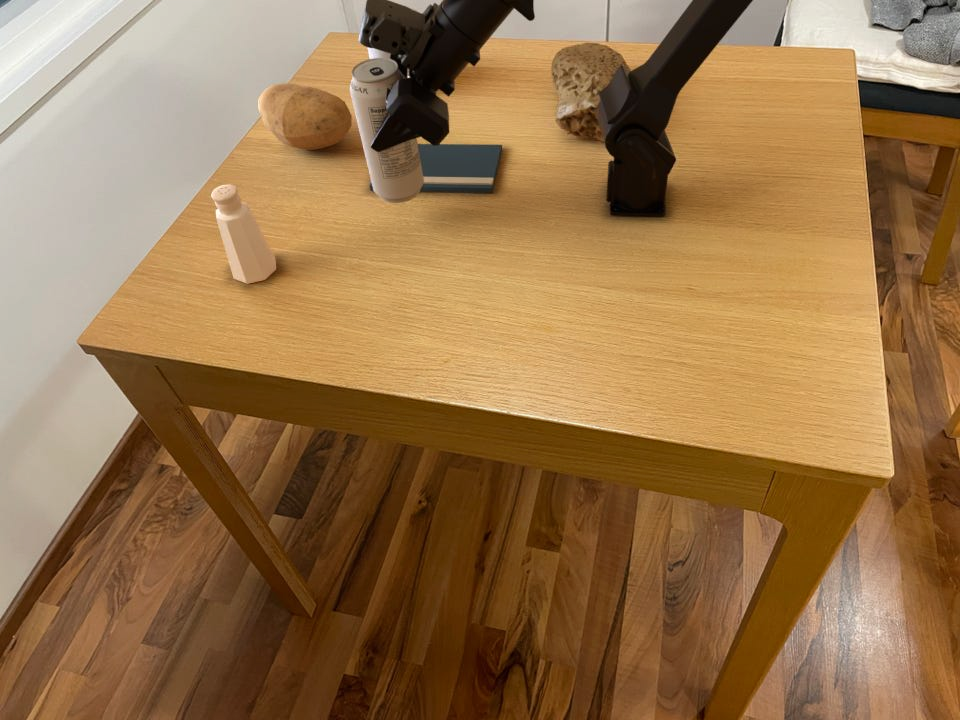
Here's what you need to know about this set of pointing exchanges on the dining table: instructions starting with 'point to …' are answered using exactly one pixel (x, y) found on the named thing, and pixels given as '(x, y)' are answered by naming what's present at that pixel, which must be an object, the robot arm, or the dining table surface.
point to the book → (458, 167)
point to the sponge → (583, 85)
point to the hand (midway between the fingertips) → (375, 133)
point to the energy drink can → (390, 168)
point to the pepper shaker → (242, 237)
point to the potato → (304, 115)
